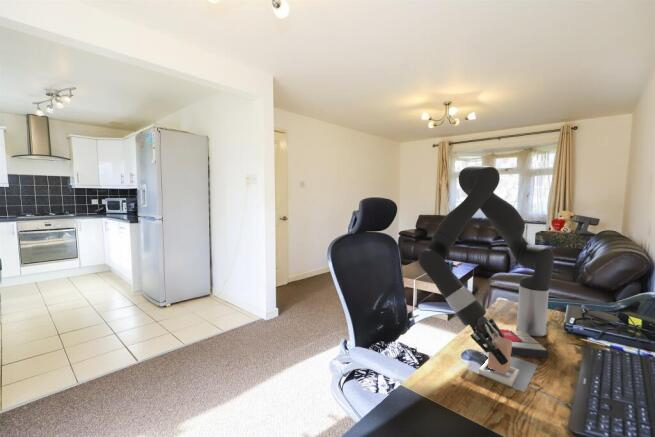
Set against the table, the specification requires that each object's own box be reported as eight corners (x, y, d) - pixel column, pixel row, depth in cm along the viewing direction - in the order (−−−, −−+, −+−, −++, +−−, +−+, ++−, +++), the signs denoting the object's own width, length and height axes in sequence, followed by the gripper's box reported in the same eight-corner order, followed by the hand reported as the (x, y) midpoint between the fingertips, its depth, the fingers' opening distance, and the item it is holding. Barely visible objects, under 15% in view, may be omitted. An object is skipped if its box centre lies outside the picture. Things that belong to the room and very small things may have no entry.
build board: (486, 351, 99) (487, 344, 99) (537, 368, 89) (538, 361, 89) (467, 373, 86) (467, 365, 86) (523, 396, 76) (524, 387, 76)
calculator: (525, 330, 108) (549, 348, 93) (524, 342, 108) (548, 362, 93) (492, 327, 110) (510, 345, 95) (491, 339, 110) (510, 358, 95)
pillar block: (492, 361, 88) (494, 335, 87) (510, 367, 84) (512, 340, 84) (487, 367, 84) (489, 340, 84) (505, 374, 81) (507, 346, 81)
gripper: (466, 305, 83) (512, 364, 76) (482, 293, 93) (525, 345, 86) (446, 317, 87) (488, 375, 80) (464, 305, 97) (503, 355, 90)
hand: (507, 359), depth 83 cm, fingers closed on pillar block, 4 cm apart
